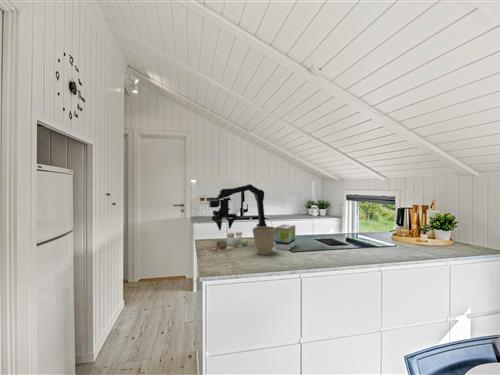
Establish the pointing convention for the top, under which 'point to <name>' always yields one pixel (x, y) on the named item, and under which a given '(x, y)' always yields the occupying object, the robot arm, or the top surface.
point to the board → (224, 249)
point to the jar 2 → (238, 237)
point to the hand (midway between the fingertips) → (224, 229)
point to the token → (221, 245)
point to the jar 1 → (230, 240)
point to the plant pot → (264, 239)
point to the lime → (244, 241)
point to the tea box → (285, 237)
